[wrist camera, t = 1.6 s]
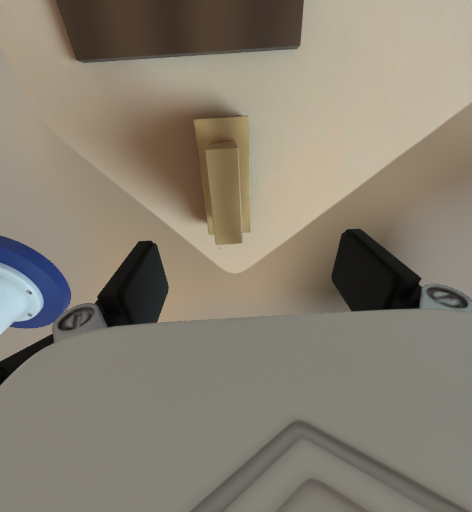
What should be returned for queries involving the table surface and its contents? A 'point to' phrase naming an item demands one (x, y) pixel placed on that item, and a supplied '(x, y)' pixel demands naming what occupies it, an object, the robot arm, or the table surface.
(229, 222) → the brush
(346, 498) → the robot arm
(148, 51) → the tray
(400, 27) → the table surface
